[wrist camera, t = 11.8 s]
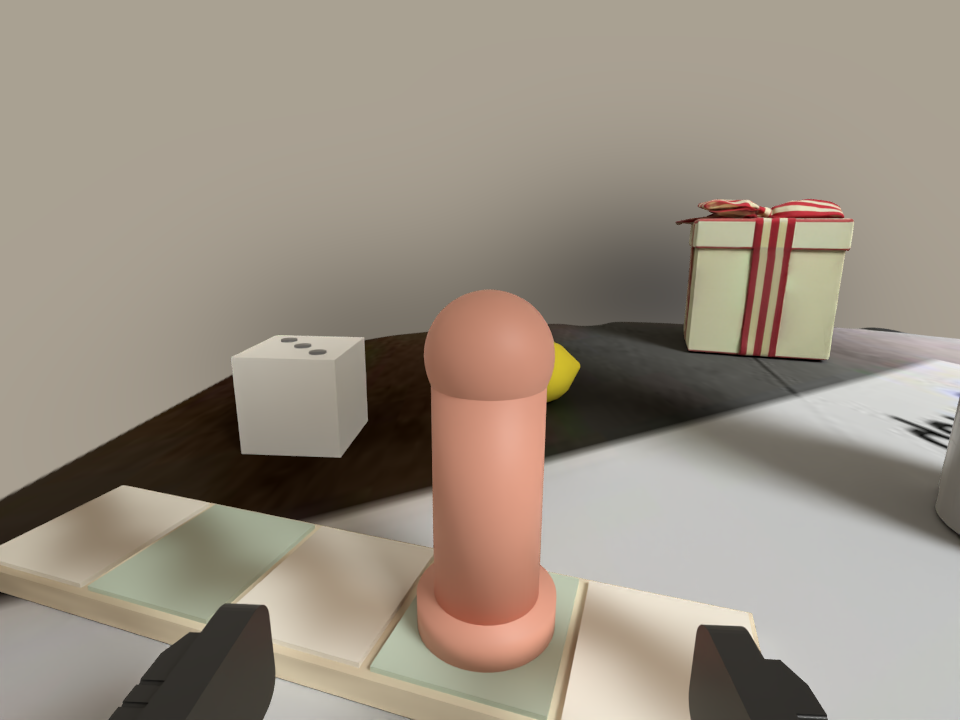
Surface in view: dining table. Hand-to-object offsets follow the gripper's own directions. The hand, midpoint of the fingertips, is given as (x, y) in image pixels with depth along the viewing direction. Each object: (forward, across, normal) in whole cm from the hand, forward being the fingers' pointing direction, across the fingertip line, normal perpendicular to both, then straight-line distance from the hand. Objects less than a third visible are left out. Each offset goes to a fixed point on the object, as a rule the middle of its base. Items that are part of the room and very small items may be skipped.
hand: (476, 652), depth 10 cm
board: (+9, +6, +7) cm, 13 cm away
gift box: (+60, -30, +8) cm, 67 cm away
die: (+26, +13, +7) cm, 30 cm away
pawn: (+8, 0, +6) cm, 10 cm away
